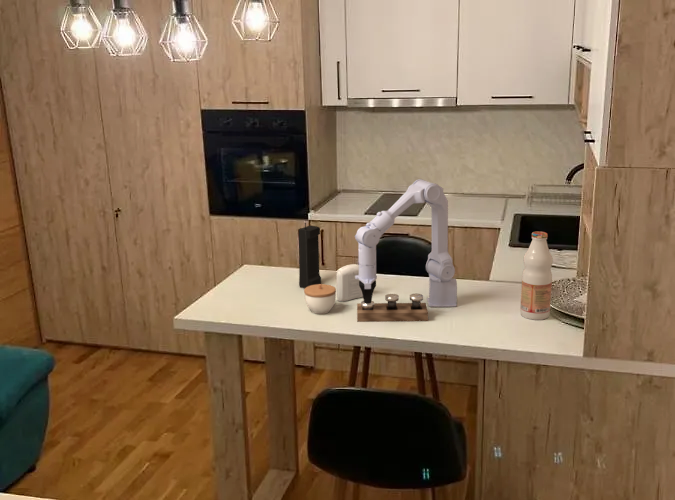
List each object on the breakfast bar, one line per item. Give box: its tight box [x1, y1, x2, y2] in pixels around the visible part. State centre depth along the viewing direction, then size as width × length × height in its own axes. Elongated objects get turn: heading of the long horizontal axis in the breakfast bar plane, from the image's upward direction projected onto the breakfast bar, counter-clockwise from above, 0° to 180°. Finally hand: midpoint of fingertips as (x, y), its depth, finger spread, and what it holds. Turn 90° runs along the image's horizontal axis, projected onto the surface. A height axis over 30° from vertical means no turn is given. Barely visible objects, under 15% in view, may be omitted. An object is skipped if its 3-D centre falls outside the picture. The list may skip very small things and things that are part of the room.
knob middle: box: [384, 293, 400, 310], centre depth 239 cm, size 4×4×4 cm
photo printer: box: [336, 263, 363, 302], centre depth 256 cm, size 10×4×12 cm, turn 123°
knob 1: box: [360, 300, 375, 310], centre depth 240 cm, size 4×4×4 cm
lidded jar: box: [303, 283, 337, 315], centre depth 246 cm, size 11×11×9 cm
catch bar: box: [356, 302, 429, 323], centre depth 240 cm, size 23×9×3 cm, turn 88°
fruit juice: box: [519, 231, 554, 321], centre depth 235 cm, size 9×9×28 cm
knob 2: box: [409, 293, 424, 310], centre depth 239 cm, size 4×4×4 cm
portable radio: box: [298, 222, 322, 289], centre depth 268 cm, size 8×6×25 cm
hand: (367, 302), depth 239 cm, fingers closed, pressing on knob 1
